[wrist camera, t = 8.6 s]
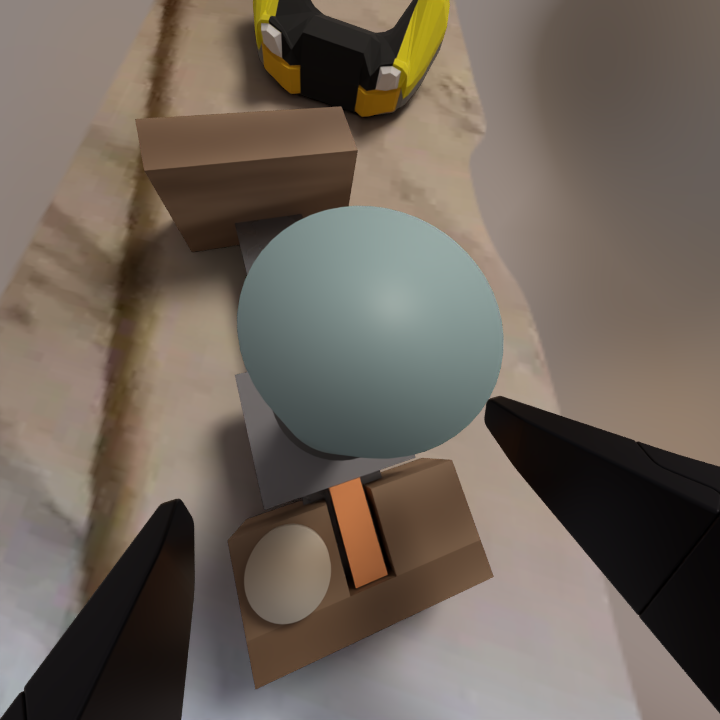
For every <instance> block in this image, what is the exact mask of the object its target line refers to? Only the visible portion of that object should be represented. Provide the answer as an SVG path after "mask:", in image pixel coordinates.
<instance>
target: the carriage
mask: <svg viewBox="0 0 720 720" xmlns="http://www.w3.org/2000/svg"><path fill="white" fill-rule="evenodd" d="M237 332H238V339H239V345H240V351H241V354H242V357H243V361H244V364H245V367H246V369H247V372H245V373H241V374H237V375H235V378H236V382H237V387H238V392H239V396H240V401H241V405H242V410H243V415H244V419H245V424H246V428H247V433H248V438H249V442H250V447H251V451H252V456H253V460H254V465H255V470H256V474H257V479H258V483H259V488H260V493H261V497H262V502H263V506H264V510H266V509H269V508H272V507H275V506H278V505H281V504H283V503H286V502H289V501H292V500H295V499H298V498H301V497H304V496H306V495H309V494H312V493H315V492H318V491H321V490H324V489H327V488H329V487H332V486H335V485H338V484H341V483H344V482H347V481H350V480H352V479H355V478H358V477H361V476H364V475H367V474H370V473H373V472H375V471H378V470H381V469H384V468H387V467H390V466H393V465H396V464H399V463H401V462H404V461H407V460H410V459H413V458H416V457H415V454H418V453H421V452H425V451H427V450H430V449H432V448H434V447H437V446H439V445H441V444H443V443H444V442H446V441H448V440H449V439H451V438H452V437H454V436H456V435H457V434H458V433H459V432H461V431H462V430H463V429H464V428H465V427H467V426H468V425H469V424H470V423H471V422H472V421H473V419H474V418H475V417H476V416H477V415H478V414H479V413H480V411H481V410H482V408H483V407H484V405H485V404H486V402H487V401H488V399H489V398H490V395H491V393H492V391H493V389H494V387H495V385H496V382H497V379H498V375H499V372H500V369H501V363H502V356H503V329H502V320H501V316H500V312H499V308H498V305H497V302H496V299H495V296H494V294H493V291H492V289H491V287H490V285H489V283H488V281H487V279H486V278H485V276H484V275H483V273H482V272H481V270H480V268H479V267H478V265H477V264H476V263H475V262H474V261H473V259H472V258H471V257H470V256H469V255H468V253H467V252H466V251H465V250H464V249H463V248H462V247H461V246H459V245H458V244H457V243H456V242H455V241H454V240H453V239H451V238H450V237H449V236H448V235H446V234H445V233H444V232H442V231H440V230H439V229H437V228H436V227H434V226H433V225H431V224H429V223H427V222H425V221H423V220H421V219H419V218H417V217H414V216H411V215H408V214H406V213H403V212H399V211H395V210H391V209H387V208H380V207H373V206H348V207H339V208H334V209H329V210H325V211H322V212H318V213H315V214H312V215H310V216H308V217H306V218H303V219H301V220H299V221H297V222H295V223H294V224H292V225H291V226H289V227H288V228H286V229H285V230H283V231H282V232H281V233H280V234H278V235H277V236H276V237H275V238H274V239H272V240H271V241H270V243H269V244H268V245H267V246H266V247H265V248H264V249H263V250H262V252H261V253H260V254H259V256H258V257H257V259H256V260H255V262H254V263H253V265H252V267H251V269H250V271H249V273H248V275H247V277H246V279H245V282H244V285H243V288H242V291H241V295H240V299H239V306H238V313H237Z"/></svg>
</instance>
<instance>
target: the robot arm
mask: <svg viewBox="0 0 720 720" xmlns="http://www.w3.org/2000/svg"><path fill="white" fill-rule="evenodd" d="M484 420H485V424H486V426H487V428H488V429H489V431H490V432H491V434H492V435H493V437H494V438H495V440H496V441H497V443H498V444H499V445H500V447H501V448H502V450H503V451H504V453H505V454H506V456H507V457H508V459H509V460H510V461H511V463H512V464H513V466H514V467H515V468H516V469H517V471H518V472H519V473H520V474H521V476H522V477H523V478H524V479H525V480H526V482H527V483H528V484H529V485H530V486H531V488H532V489H533V490H534V491H535V492H536V494H537V495H538V496H539V497H540V498H541V500H542V501H543V502H544V503H545V504H546V506H547V507H548V508H549V509H550V510H551V512H552V513H553V514H554V515H555V516H556V518H557V519H558V520H559V521H560V522H561V524H562V525H563V526H564V527H565V528H566V530H567V531H568V532H569V533H570V534H571V536H572V537H573V538H574V539H575V540H576V541H577V543H578V544H579V545H580V546H581V547H582V549H583V550H584V551H585V552H586V553H587V555H588V556H589V557H590V558H591V559H592V561H593V562H594V563H595V564H596V565H597V567H598V568H599V569H600V570H601V571H602V573H603V574H604V575H605V576H606V577H607V579H608V580H609V581H610V582H611V583H612V584H613V586H614V587H615V588H616V589H617V591H618V592H619V593H620V594H621V595H622V597H623V598H624V599H625V600H626V601H627V603H628V604H629V605H630V606H631V607H632V609H633V610H634V611H635V612H636V613H637V614H638V615H639V617H640V618H641V620H642V621H643V622H644V623H645V624H646V626H647V627H648V628H649V629H650V630H651V632H652V633H653V634H654V635H655V636H656V638H657V639H658V640H659V641H660V642H661V644H662V645H663V646H664V647H665V648H666V650H667V651H668V652H669V653H670V654H671V656H672V657H673V658H674V659H675V660H676V662H677V663H678V664H679V665H680V666H681V667H682V669H683V670H684V671H685V672H686V674H687V675H688V676H689V677H690V678H691V679H692V681H693V682H694V683H695V684H696V685H697V687H698V688H699V689H700V690H701V691H702V693H703V694H704V695H705V696H706V697H707V699H708V700H709V701H710V702H711V703H712V704H713V706H714V707H715V708H716V709H717V711H718V712H719V713H720V467H719V466H715V465H712V464H708V463H705V462H702V461H698V460H695V459H691V458H688V457H684V456H681V455H678V454H675V453H671V452H668V451H665V450H662V449H659V448H656V447H653V446H650V445H647V444H644V443H641V442H635V441H634V440H632V439H629V438H626V437H623V436H620V435H617V434H614V433H611V432H607V431H605V430H602V429H599V428H596V427H593V426H590V425H587V424H584V423H580V422H578V421H574V420H571V419H568V418H565V417H563V416H560V415H557V414H554V413H551V412H548V411H545V410H542V409H539V408H536V407H533V406H530V405H527V404H524V403H521V402H518V401H515V400H512V399H508V398H505V397H502V396H497V397H494V398H491V399H488V401H487V403H486V410H485V417H484ZM194 585H195V564H194V521H193V518H192V516H191V515H190V513H189V511H188V510H187V508H186V506H185V505H184V503H183V502H182V500H181V499H174V500H171V501H168V502H165V503H162V504H161V505H160V506H159V507H158V508H157V510H156V511H155V512H154V514H153V515H152V516H151V518H150V519H149V520H148V522H147V523H146V524H145V526H144V527H143V528H142V530H141V531H140V532H139V534H138V535H137V536H136V538H135V539H134V540H133V542H132V543H131V544H130V546H129V547H128V548H127V550H126V551H125V552H124V554H123V555H122V557H121V558H120V559H119V561H118V562H117V563H116V565H115V566H114V567H113V569H112V570H111V571H110V573H109V574H108V575H107V577H106V578H105V579H104V581H103V582H102V583H101V585H100V586H99V587H98V589H97V590H96V591H95V593H94V594H93V595H92V597H91V598H90V599H89V601H88V602H87V603H86V605H85V606H84V608H83V609H82V610H81V612H80V613H79V614H78V616H77V617H76V618H75V620H74V621H73V622H72V624H71V625H70V626H69V628H68V629H67V630H66V632H65V633H64V634H63V636H62V637H61V638H60V640H59V641H58V642H57V644H56V645H55V646H54V648H53V649H52V650H51V652H50V653H49V655H48V656H47V657H46V659H45V660H44V661H43V663H42V664H41V665H40V667H39V668H38V669H37V671H36V672H35V673H34V675H33V676H32V677H31V679H30V680H29V681H28V683H27V684H26V685H25V687H24V691H23V692H21V693H19V695H18V696H17V697H16V699H15V700H14V701H13V703H12V704H11V705H10V707H9V708H8V709H7V711H6V712H5V713H4V715H3V716H2V717H1V719H0V720H181V716H182V707H183V697H184V688H185V678H186V668H187V659H188V649H189V640H190V630H191V621H192V611H193V601H194Z"/></svg>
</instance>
